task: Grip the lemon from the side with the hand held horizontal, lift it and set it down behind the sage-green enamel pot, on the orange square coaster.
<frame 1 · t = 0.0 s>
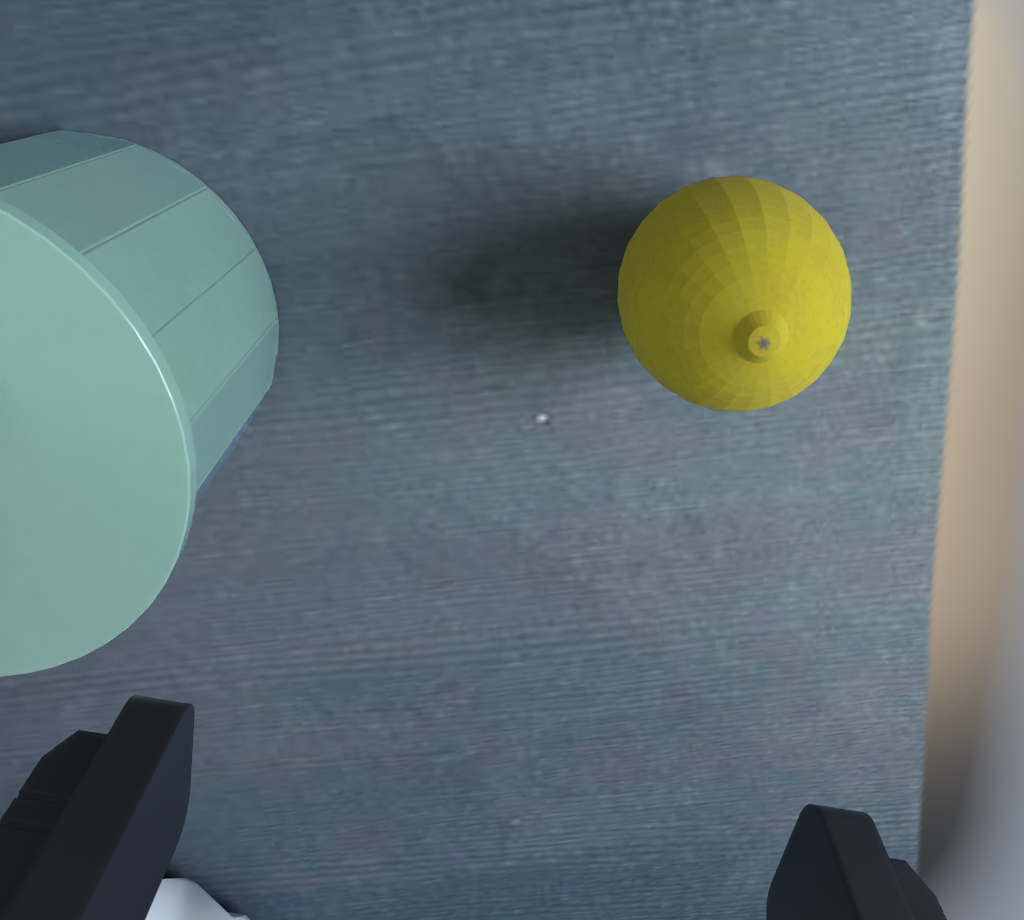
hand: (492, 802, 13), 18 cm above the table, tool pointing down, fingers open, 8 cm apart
pot: (104, 315, 29), on the table
lemon: (702, 255, 28), on the table
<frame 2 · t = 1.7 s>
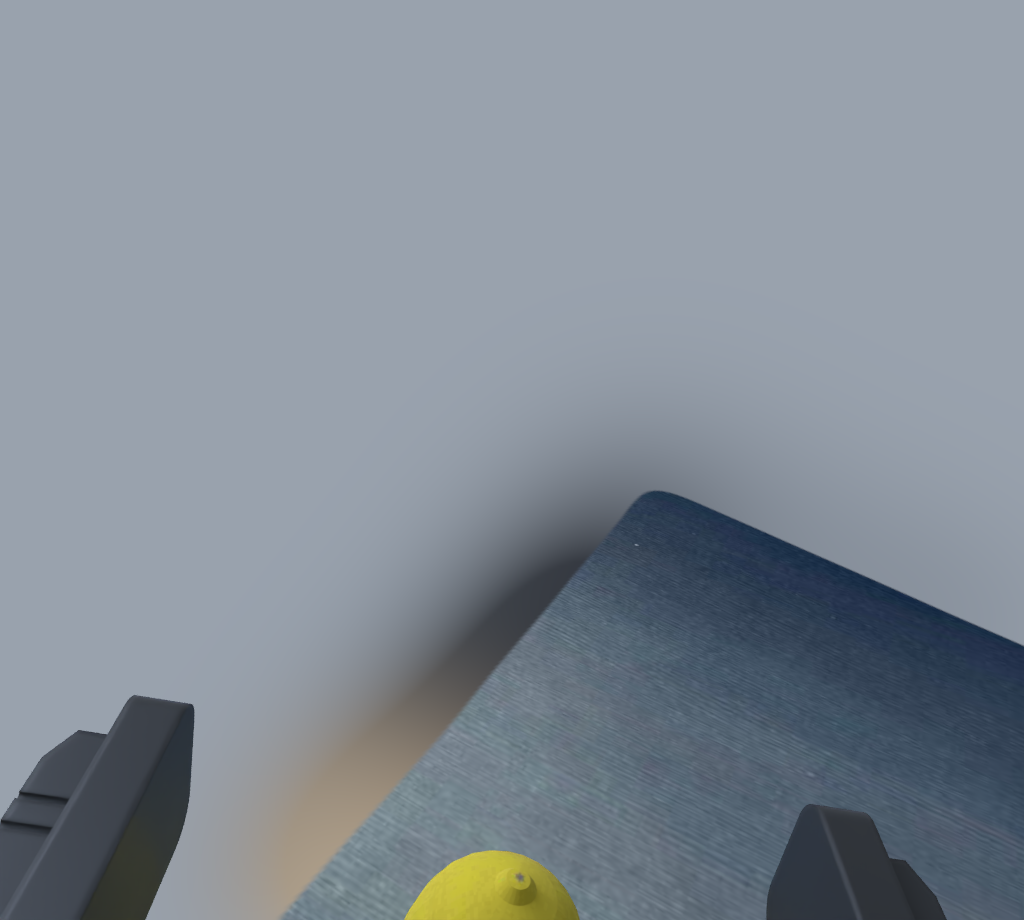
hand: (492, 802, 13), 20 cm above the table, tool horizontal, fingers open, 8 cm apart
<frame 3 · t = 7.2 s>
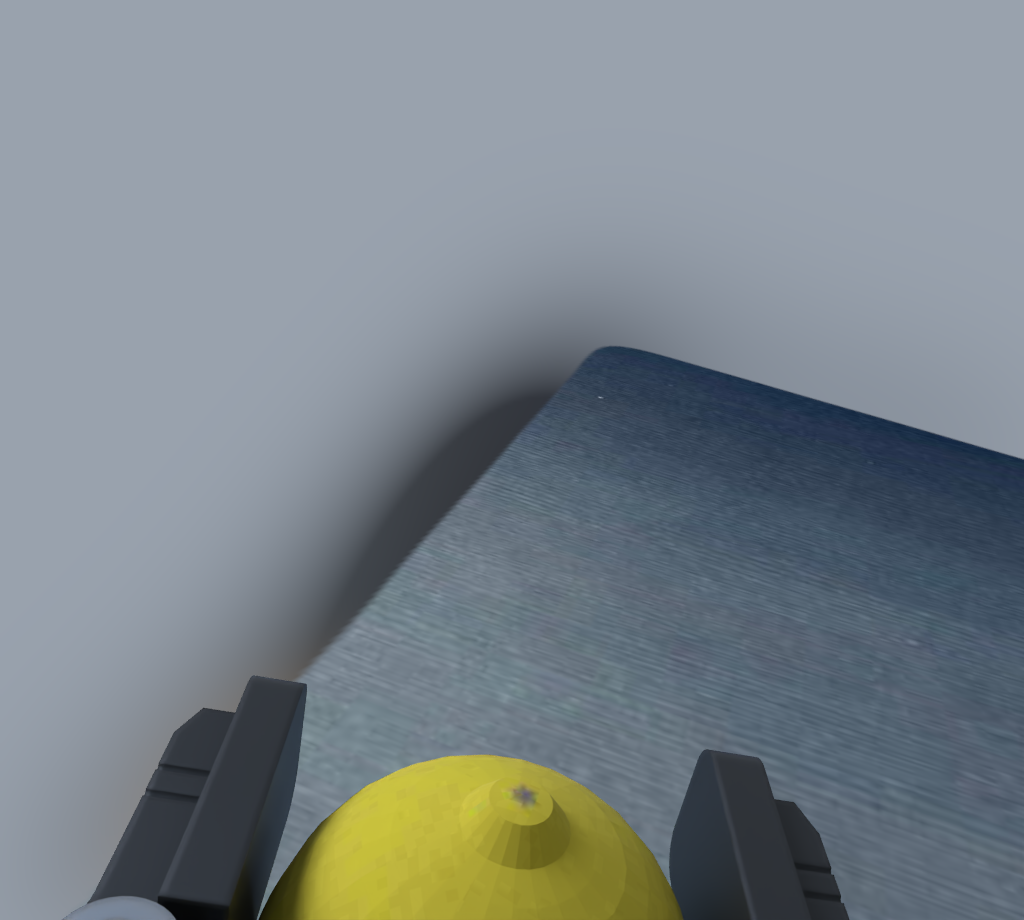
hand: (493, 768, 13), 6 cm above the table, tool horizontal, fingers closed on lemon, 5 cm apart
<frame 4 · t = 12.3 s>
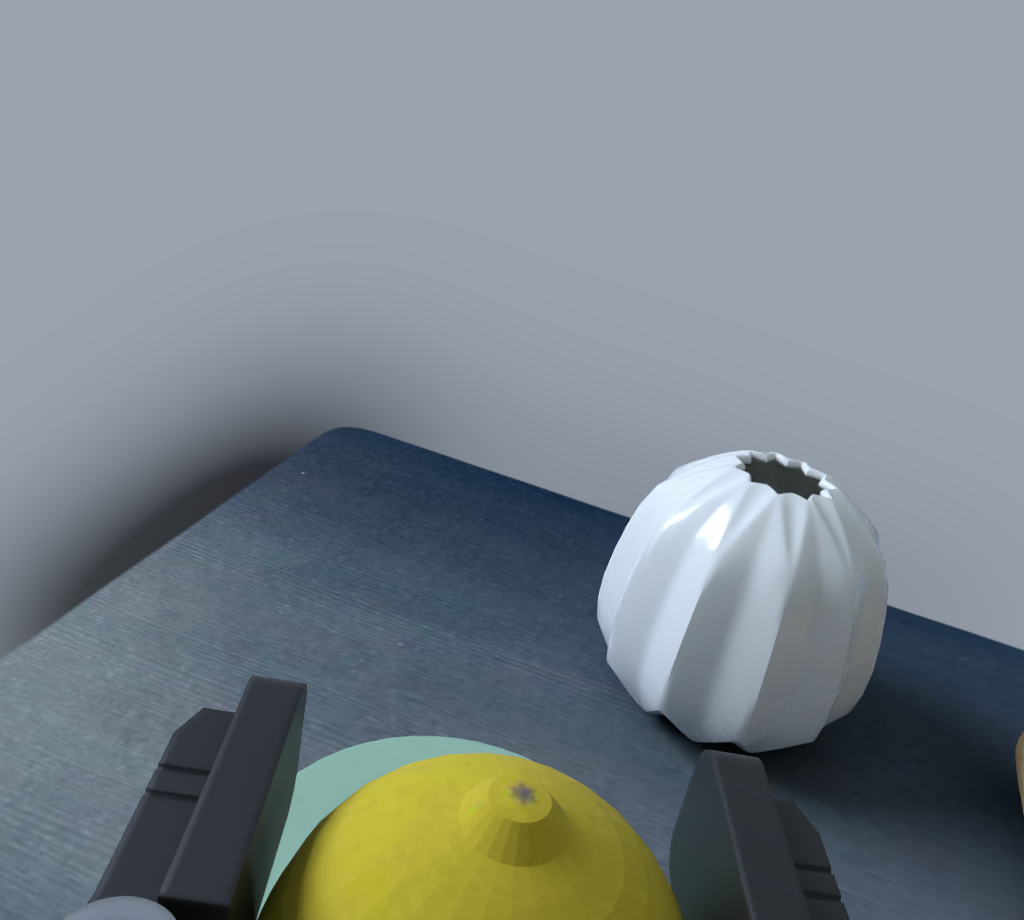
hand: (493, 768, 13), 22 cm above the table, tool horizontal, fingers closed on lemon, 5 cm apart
pot lid: (445, 899, 26), point 9 cm above the table, touching pot
vase: (709, 697, 52), on the table
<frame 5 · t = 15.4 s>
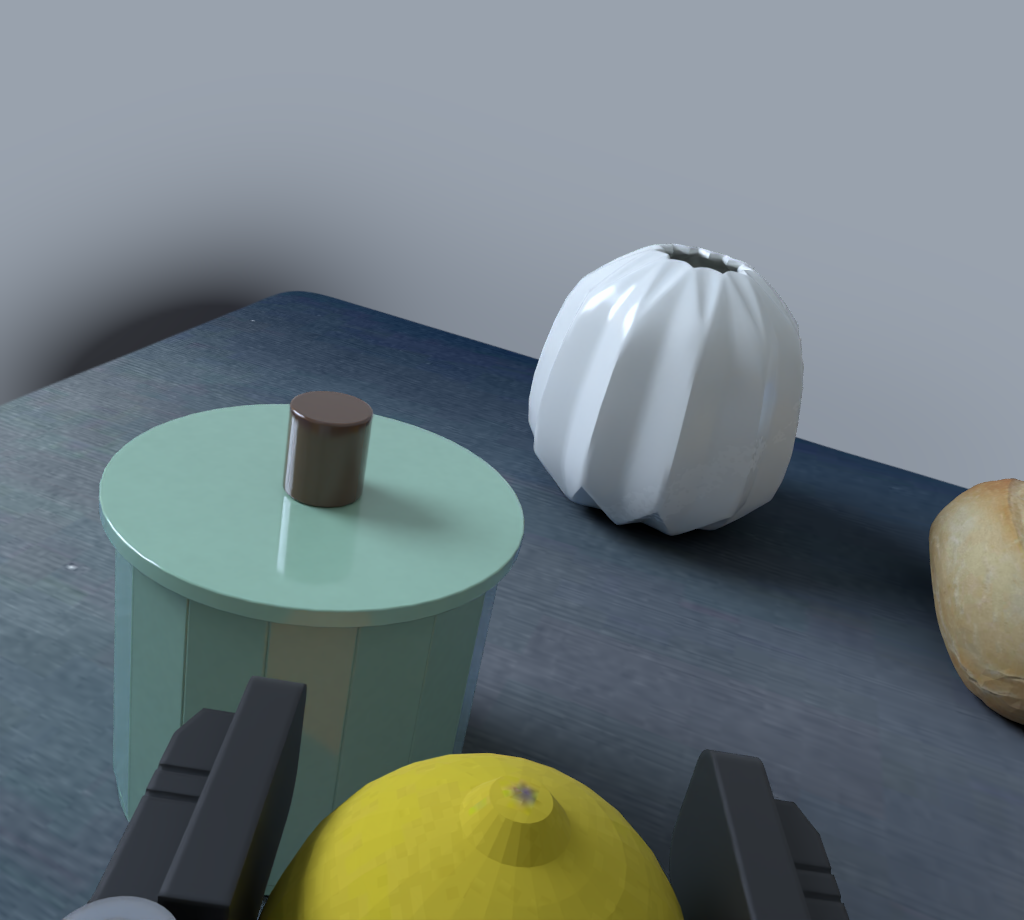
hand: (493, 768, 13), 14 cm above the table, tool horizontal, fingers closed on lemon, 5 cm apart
pot: (291, 758, 31), on the table
pot lid: (321, 504, 27), point 9 cm above the table, touching pot
vase: (638, 500, 53), on the table
bread roll: (1002, 652, 45), on the table
when the fingers open (6 cm above the table, at t = 17.8 s): lemon stays where it is, resting on orange square coaster.
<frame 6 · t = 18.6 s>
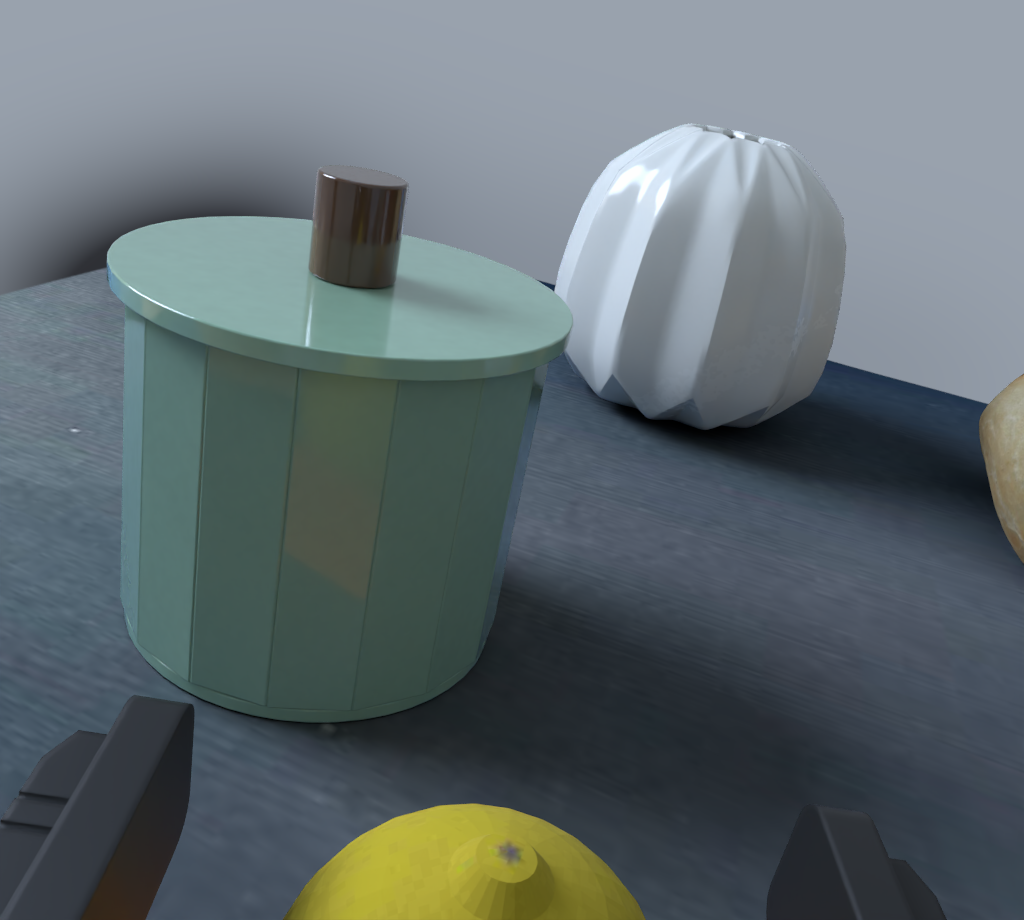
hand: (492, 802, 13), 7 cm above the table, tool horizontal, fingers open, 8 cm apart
pot: (314, 602, 28), on the table
pot lid: (350, 295, 24), point 9 cm above the table, touching pot
vase: (668, 403, 50), on the table
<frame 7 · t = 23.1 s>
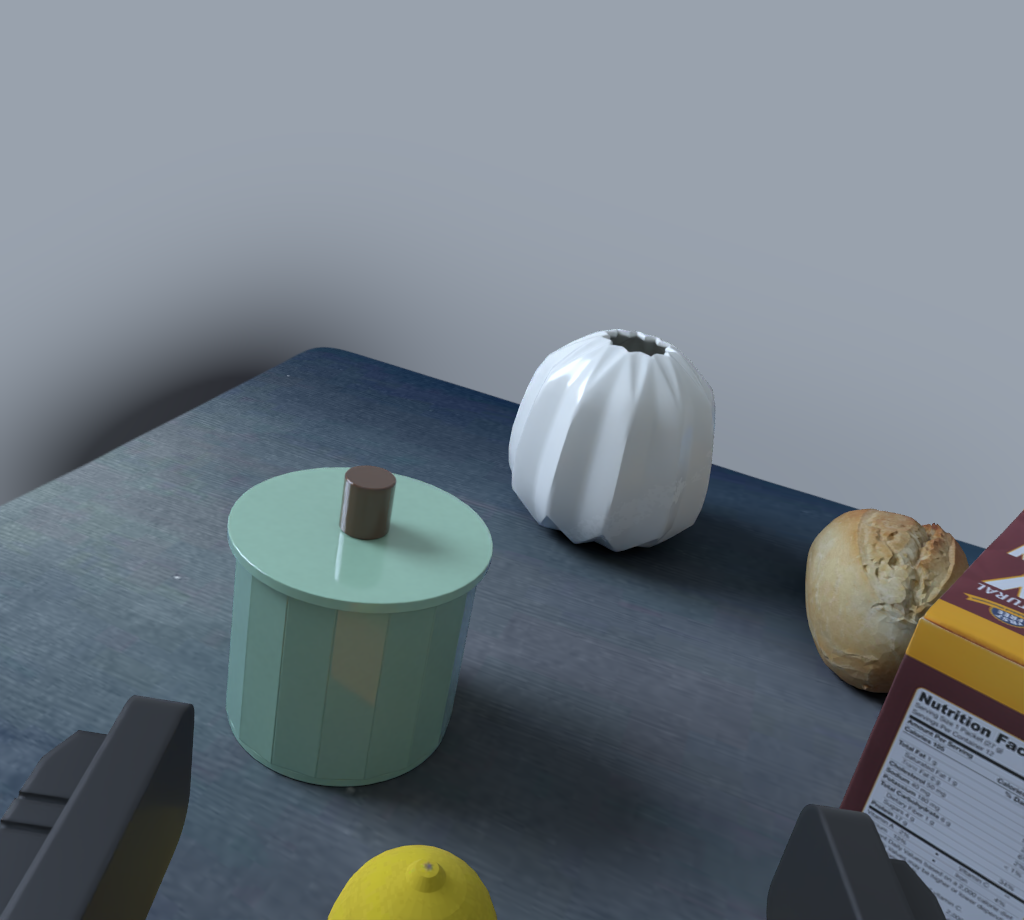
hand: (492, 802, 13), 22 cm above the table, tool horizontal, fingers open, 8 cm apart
pot: (340, 705, 46), on the table
pot lid: (362, 537, 42), point 9 cm above the table, touching pot
vase: (594, 523, 68), on the table
supplement box: (962, 909, 42), on the table
bread roll: (863, 639, 60), on the table
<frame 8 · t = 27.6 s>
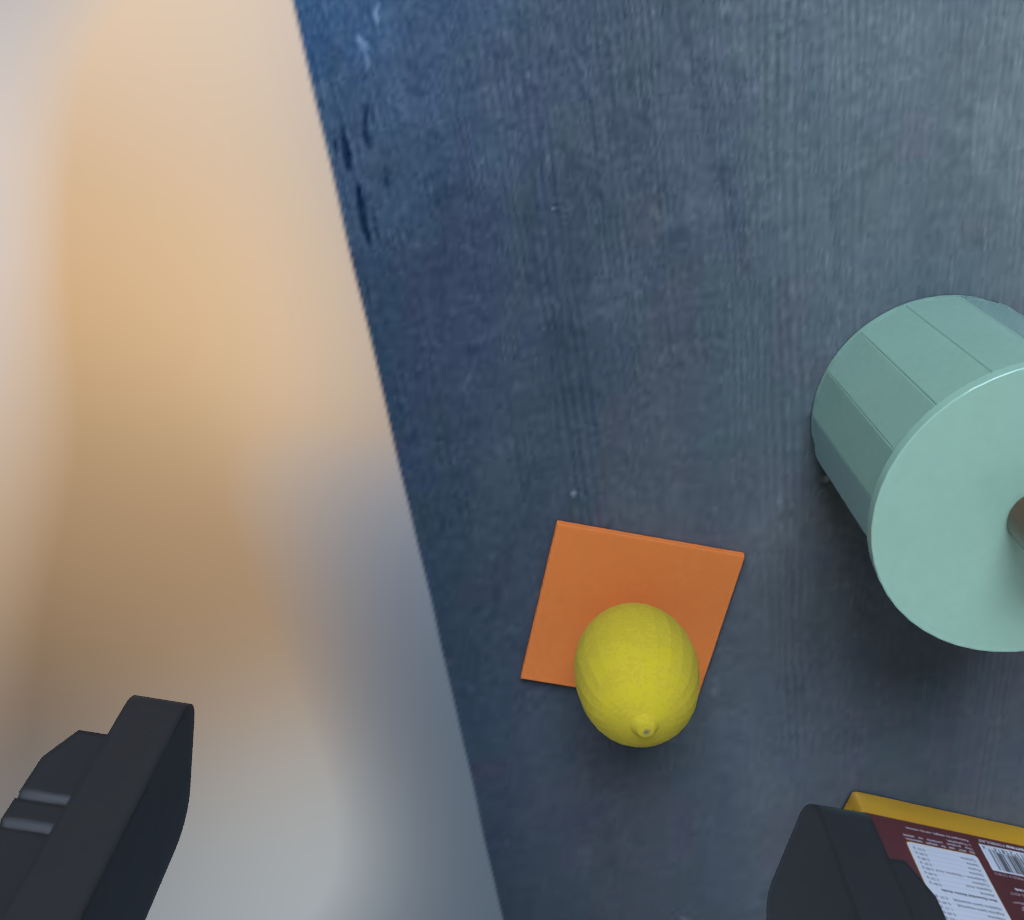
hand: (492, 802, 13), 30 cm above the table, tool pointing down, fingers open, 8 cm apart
pot: (930, 410, 42), on the table
supplement box: (941, 880, 54), on the table
orange square coaster: (628, 615, 47), on the table
lemon: (627, 618, 47), resting on orange square coaster
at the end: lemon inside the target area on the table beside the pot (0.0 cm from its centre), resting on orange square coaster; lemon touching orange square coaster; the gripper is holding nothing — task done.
